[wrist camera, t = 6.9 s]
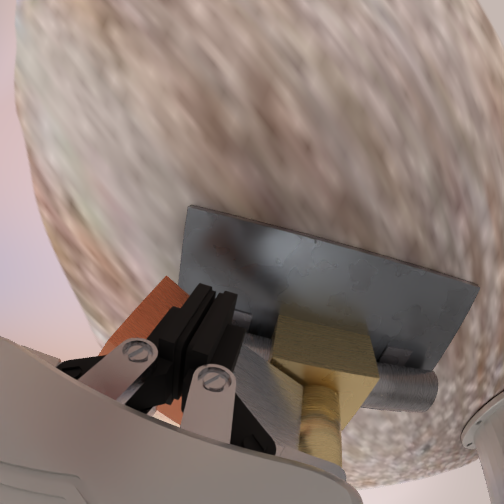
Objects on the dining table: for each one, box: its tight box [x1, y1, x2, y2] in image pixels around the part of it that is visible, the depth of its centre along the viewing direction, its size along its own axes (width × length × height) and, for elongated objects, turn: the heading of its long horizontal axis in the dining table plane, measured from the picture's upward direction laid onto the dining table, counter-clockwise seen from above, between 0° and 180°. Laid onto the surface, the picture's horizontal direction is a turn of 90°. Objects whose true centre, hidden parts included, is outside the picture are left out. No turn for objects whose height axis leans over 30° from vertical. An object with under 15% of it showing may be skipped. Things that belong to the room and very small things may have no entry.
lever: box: [98, 276, 342, 468], centre depth 14 cm, size 14×4×6 cm, turn 50°
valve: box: [178, 205, 480, 430], centre depth 19 cm, size 22×14×5 cm, turn 78°
